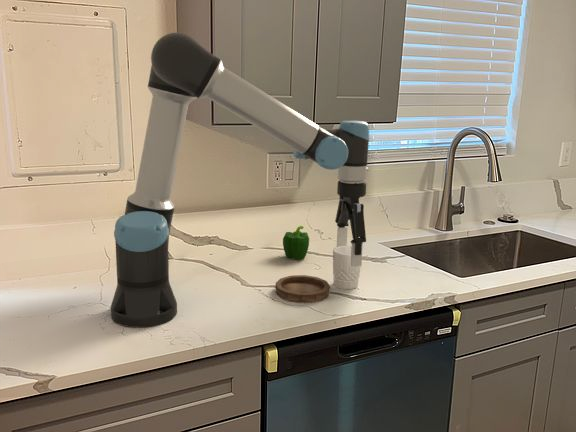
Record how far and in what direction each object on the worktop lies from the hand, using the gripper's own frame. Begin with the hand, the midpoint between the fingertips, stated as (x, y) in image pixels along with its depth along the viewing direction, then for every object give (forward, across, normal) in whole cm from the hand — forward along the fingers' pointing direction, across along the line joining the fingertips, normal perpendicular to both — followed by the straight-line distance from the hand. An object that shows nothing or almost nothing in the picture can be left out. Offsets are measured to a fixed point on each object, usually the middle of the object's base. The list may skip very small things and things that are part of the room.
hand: (348, 257), depth 153 cm
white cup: (+8, 0, 0) cm, 8 cm away
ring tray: (+8, -4, +14) cm, 16 cm away
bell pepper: (+8, +24, +10) cm, 27 cm away
